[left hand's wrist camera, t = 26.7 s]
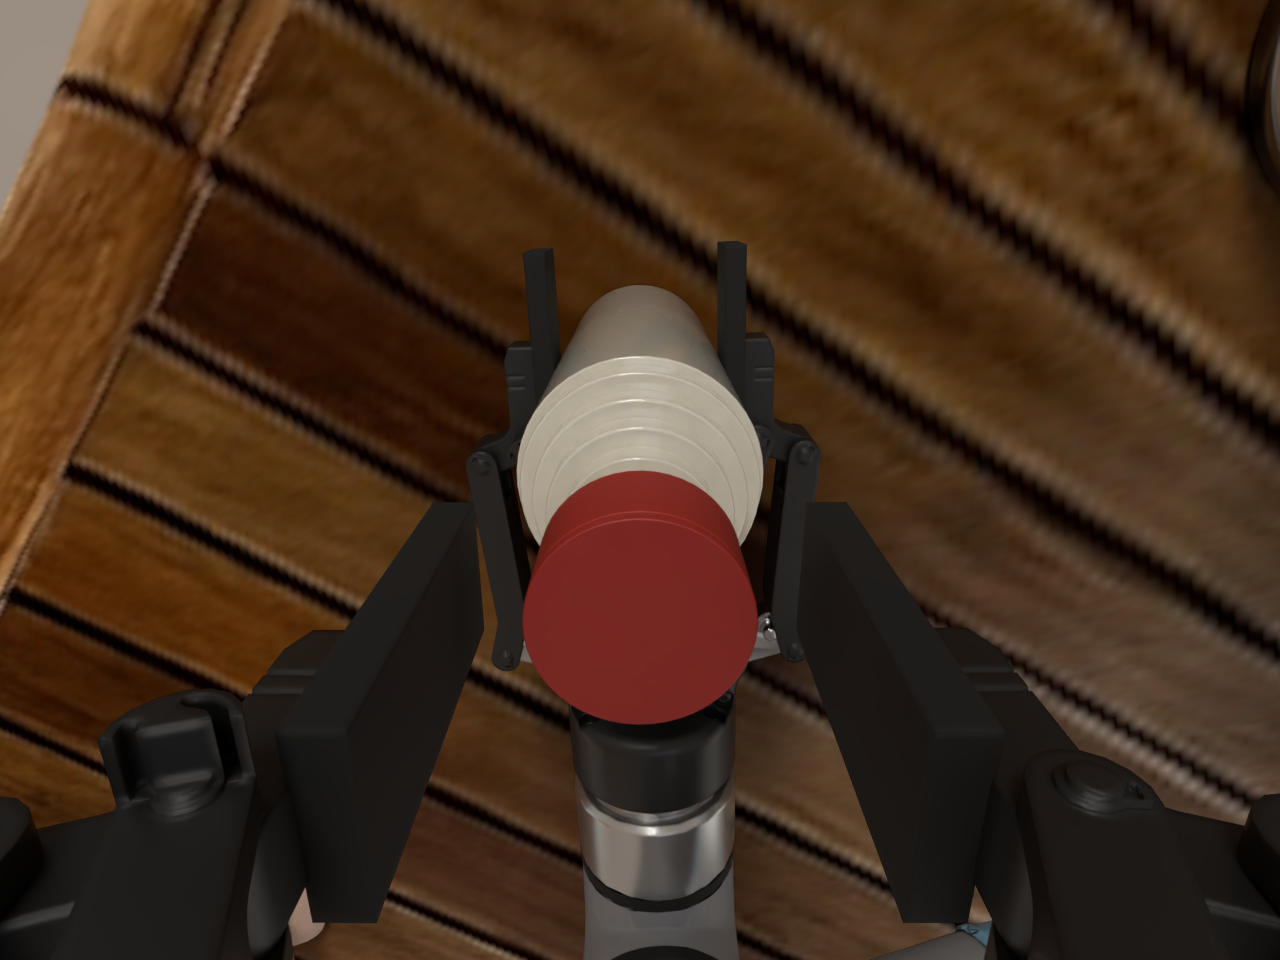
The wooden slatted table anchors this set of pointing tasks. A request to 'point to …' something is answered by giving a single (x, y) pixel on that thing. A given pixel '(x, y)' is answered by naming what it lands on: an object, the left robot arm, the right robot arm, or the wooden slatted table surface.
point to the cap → (640, 600)
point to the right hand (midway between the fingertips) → (634, 247)
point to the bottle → (640, 411)
